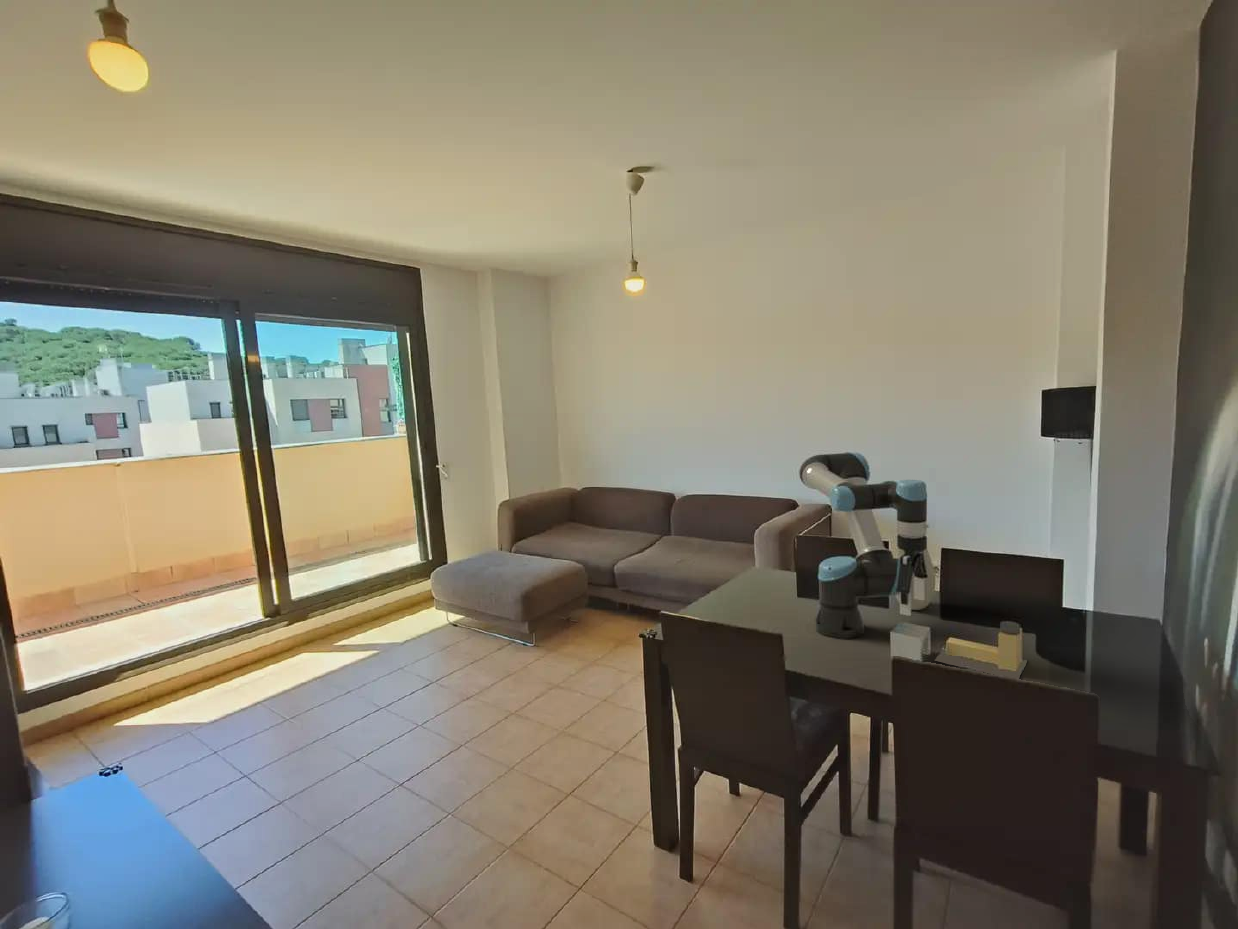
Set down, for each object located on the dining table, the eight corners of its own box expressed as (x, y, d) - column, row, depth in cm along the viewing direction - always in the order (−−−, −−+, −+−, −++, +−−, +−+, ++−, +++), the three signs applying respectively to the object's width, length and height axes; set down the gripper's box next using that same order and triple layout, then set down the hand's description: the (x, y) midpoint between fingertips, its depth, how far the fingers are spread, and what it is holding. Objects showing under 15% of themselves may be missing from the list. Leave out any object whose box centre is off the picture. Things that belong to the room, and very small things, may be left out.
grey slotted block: (890, 658, 166) (890, 631, 165) (901, 647, 173) (900, 621, 172) (920, 665, 161) (920, 638, 160) (930, 654, 167) (930, 627, 166)
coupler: (944, 658, 163) (943, 617, 162) (952, 648, 169) (951, 608, 167) (1016, 675, 151) (1017, 631, 150) (1022, 663, 157) (1022, 621, 156)
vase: (943, 607, 200) (942, 523, 197) (922, 618, 192) (921, 530, 189) (905, 597, 211) (903, 518, 208) (883, 607, 204) (882, 524, 201)
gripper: (913, 547, 151) (914, 624, 154) (938, 526, 169) (938, 595, 172) (883, 543, 156) (884, 618, 159) (910, 524, 174) (911, 591, 177)
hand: (912, 606), depth 165 cm, fingers open, 13 cm apart
